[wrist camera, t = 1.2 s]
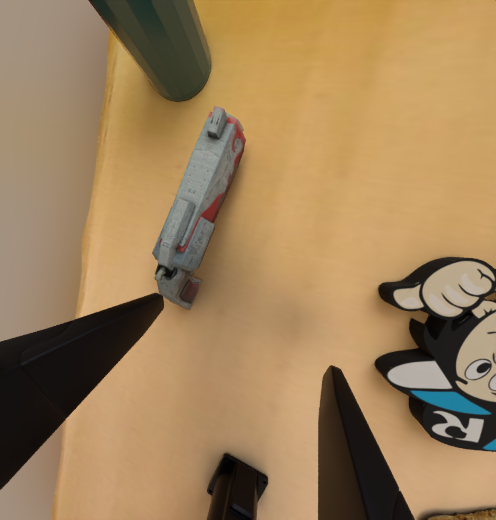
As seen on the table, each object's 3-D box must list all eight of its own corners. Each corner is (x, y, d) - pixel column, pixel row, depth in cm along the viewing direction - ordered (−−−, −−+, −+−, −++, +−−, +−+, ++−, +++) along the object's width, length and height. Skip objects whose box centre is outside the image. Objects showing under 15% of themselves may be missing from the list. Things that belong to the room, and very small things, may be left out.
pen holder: (196, 110, 22) (133, -2, 12) (141, 89, 23) (39, -33, 13) (221, 42, 21) (175, -140, 11) (163, 22, 22) (71, -166, 12)
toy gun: (253, 172, 25) (248, 101, 15) (200, 311, 23) (155, 335, 13) (223, 163, 25) (199, 88, 15) (169, 298, 24) (104, 313, 14)
